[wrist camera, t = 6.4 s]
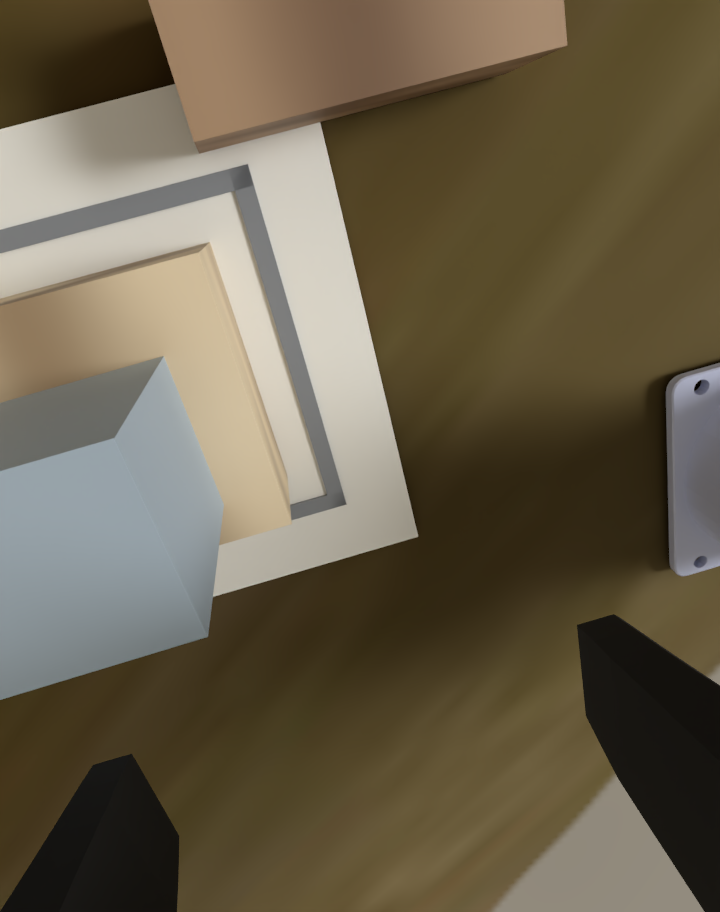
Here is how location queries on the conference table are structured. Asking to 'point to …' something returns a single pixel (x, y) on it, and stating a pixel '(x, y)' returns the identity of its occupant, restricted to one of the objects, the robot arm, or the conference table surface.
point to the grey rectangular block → (102, 527)
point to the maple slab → (186, 353)
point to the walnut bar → (336, 56)
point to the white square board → (248, 288)
